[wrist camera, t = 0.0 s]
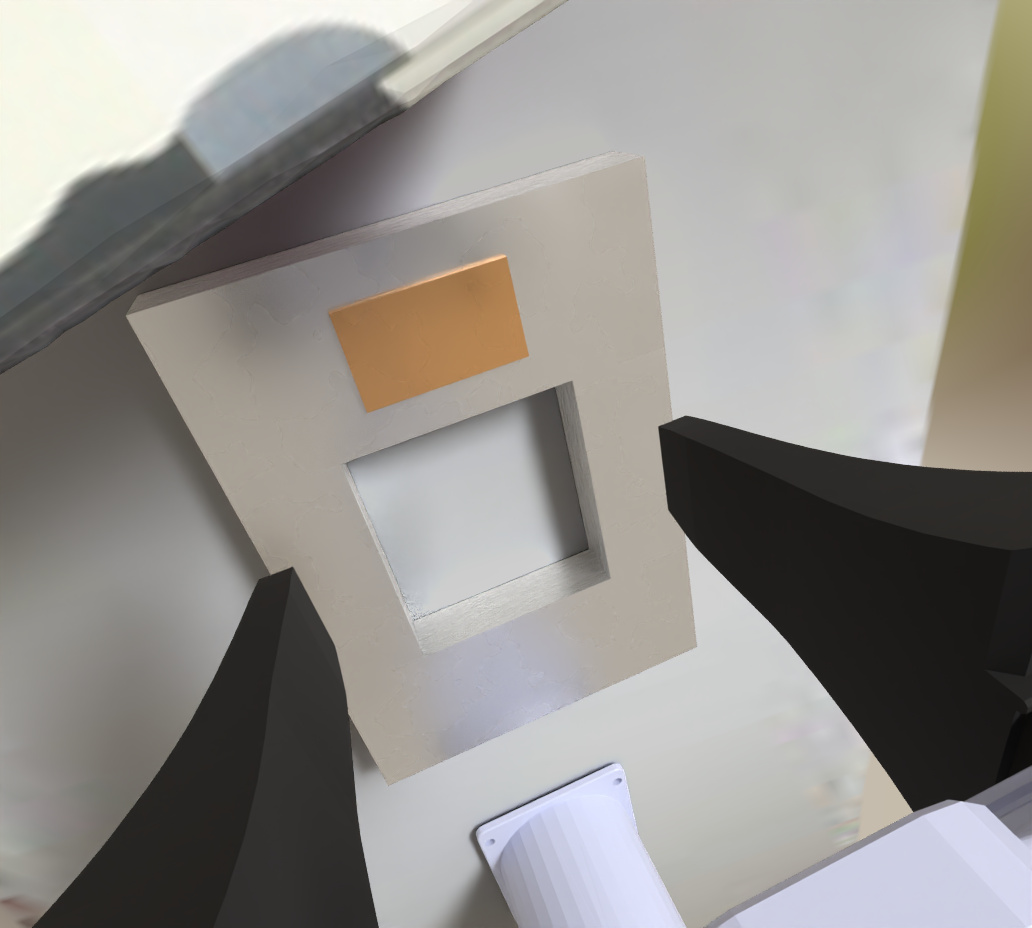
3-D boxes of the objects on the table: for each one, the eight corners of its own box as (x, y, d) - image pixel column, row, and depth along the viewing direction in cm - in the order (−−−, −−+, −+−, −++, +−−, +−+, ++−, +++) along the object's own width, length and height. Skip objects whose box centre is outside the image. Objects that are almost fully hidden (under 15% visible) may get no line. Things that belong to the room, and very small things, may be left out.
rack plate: (672, 617, 31) (699, 650, 29) (380, 745, 28) (389, 790, 27) (612, 151, 20) (647, 156, 18) (137, 295, 18) (124, 318, 16)
